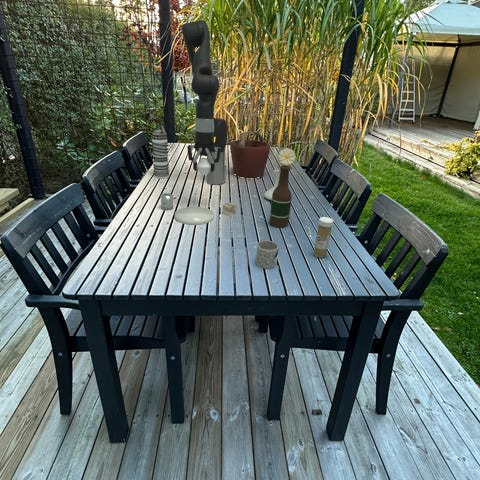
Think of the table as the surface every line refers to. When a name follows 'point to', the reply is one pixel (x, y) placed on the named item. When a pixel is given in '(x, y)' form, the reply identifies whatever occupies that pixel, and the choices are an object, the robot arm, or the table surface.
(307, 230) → the table surface
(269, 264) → the mug
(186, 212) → the white bowl
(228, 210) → the brass block
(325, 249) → the sprinkles bottle
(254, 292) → the table surface
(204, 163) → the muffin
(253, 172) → the brown flower pot
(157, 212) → the table surface
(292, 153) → the flower in vase
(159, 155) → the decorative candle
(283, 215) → the beer bottle
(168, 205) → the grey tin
